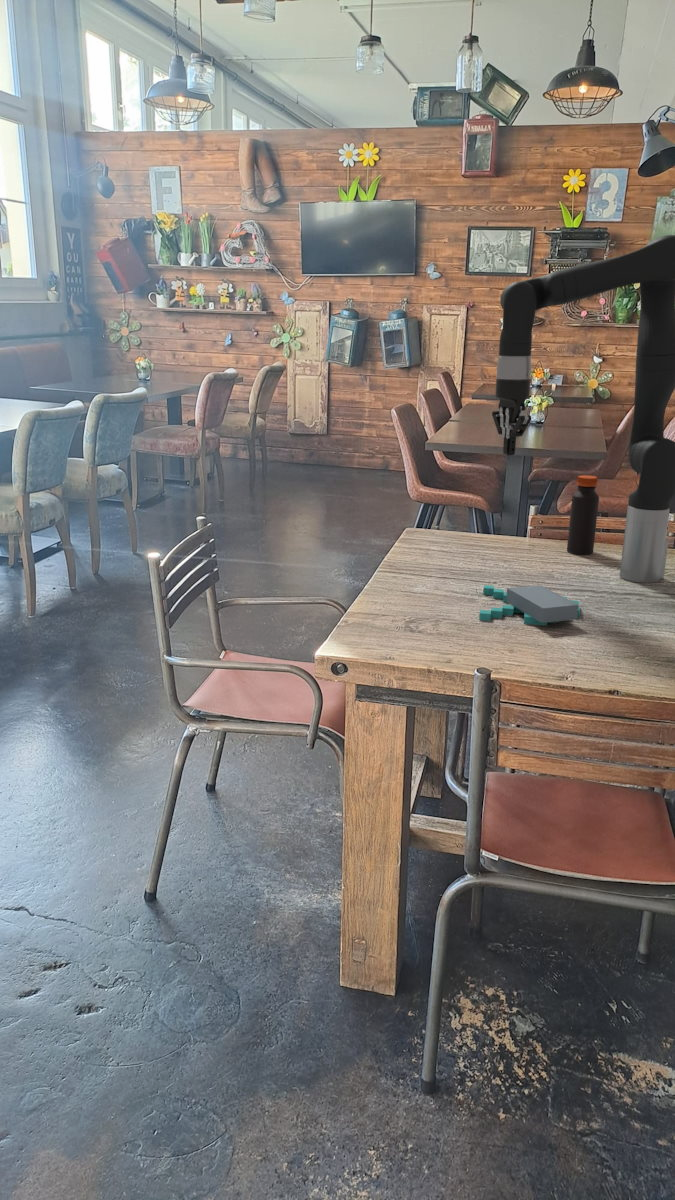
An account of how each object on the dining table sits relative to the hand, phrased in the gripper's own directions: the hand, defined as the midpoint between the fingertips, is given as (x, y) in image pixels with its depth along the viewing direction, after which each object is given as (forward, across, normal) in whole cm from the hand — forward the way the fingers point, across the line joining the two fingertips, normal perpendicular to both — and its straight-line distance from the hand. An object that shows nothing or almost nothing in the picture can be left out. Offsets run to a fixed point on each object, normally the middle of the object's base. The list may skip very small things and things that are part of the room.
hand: (508, 454), depth 196 cm
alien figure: (+30, -24, +9) cm, 39 cm away
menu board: (+26, -23, +9) cm, 36 cm away
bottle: (+29, +11, -31) cm, 44 cm away
